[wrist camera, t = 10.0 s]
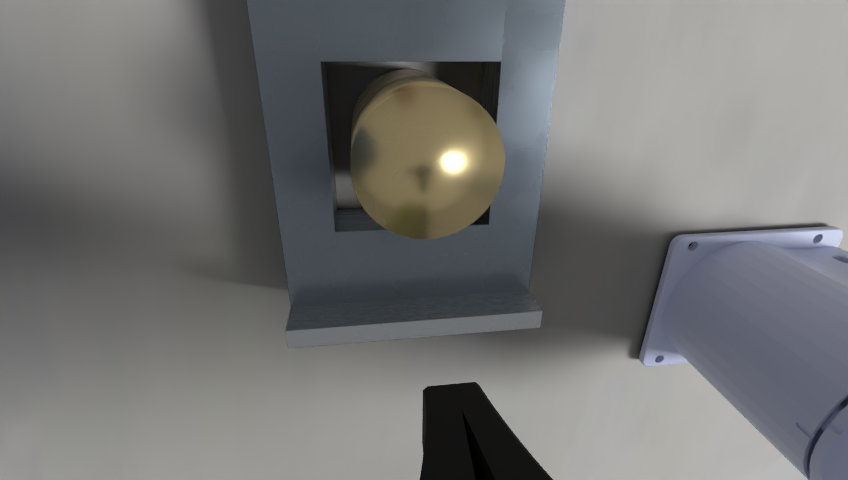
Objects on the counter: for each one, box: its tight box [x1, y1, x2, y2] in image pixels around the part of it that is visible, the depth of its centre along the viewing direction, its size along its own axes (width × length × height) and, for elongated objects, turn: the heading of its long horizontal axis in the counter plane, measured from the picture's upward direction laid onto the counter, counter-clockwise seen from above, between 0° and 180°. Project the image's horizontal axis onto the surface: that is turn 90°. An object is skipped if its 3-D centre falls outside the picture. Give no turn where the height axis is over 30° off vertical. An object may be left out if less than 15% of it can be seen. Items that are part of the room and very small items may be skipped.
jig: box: [247, 0, 565, 348], centre depth 16 cm, size 10×14×4 cm
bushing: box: [350, 69, 505, 239], centre depth 15 cm, size 4×4×6 cm
